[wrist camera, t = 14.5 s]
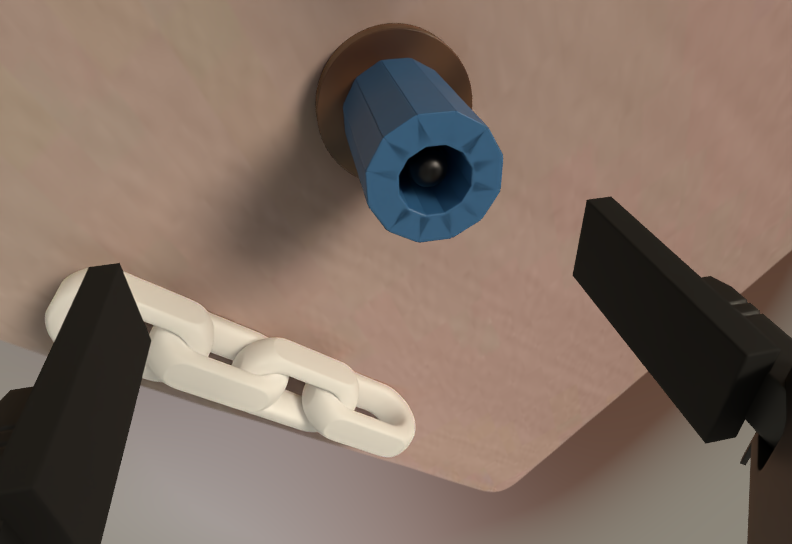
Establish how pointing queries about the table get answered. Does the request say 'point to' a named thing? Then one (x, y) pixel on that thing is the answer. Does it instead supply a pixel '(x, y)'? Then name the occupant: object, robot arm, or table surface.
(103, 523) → the robot arm
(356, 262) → the table surface
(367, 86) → the towel roll
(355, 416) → the chain
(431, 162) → the stand post
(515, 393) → the table surface
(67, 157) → the table surface
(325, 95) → the stand base
